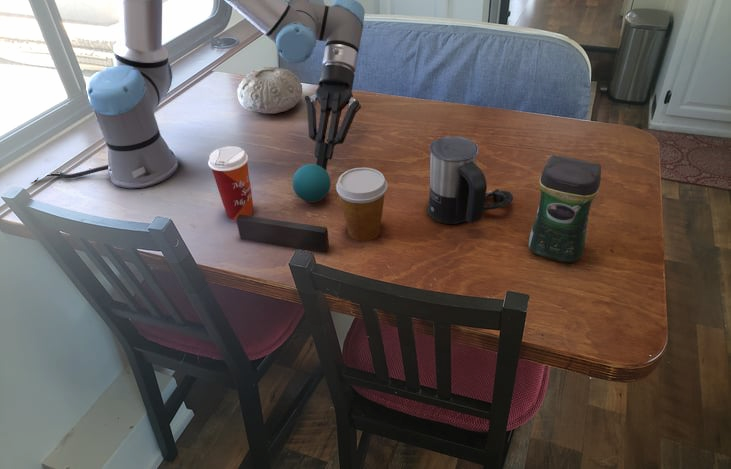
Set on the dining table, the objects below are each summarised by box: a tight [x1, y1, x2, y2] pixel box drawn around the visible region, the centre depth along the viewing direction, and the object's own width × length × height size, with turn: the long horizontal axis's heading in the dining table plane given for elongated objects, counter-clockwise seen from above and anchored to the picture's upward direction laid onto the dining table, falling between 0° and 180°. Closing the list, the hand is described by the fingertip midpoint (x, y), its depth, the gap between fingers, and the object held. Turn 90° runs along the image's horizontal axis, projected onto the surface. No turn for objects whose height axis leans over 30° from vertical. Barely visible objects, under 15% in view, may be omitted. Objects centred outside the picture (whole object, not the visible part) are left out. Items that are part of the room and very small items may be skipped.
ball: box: [291, 163, 332, 203], centre depth 114 cm, size 8×8×8 cm
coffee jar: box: [528, 154, 602, 263], centre depth 95 cm, size 10×8×19 cm
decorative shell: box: [237, 66, 303, 115], centre depth 149 cm, size 18×18×10 cm
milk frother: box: [427, 136, 514, 225], centre depth 106 cm, size 14×16×15 cm
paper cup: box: [207, 145, 255, 222], centre depth 109 cm, size 8×8×14 cm
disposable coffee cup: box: [335, 167, 388, 242], centre depth 103 cm, size 10×10×12 cm
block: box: [235, 214, 330, 254], centre depth 103 cm, size 18×2×5 cm, turn 74°
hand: (320, 172), depth 119 cm, fingers closed
